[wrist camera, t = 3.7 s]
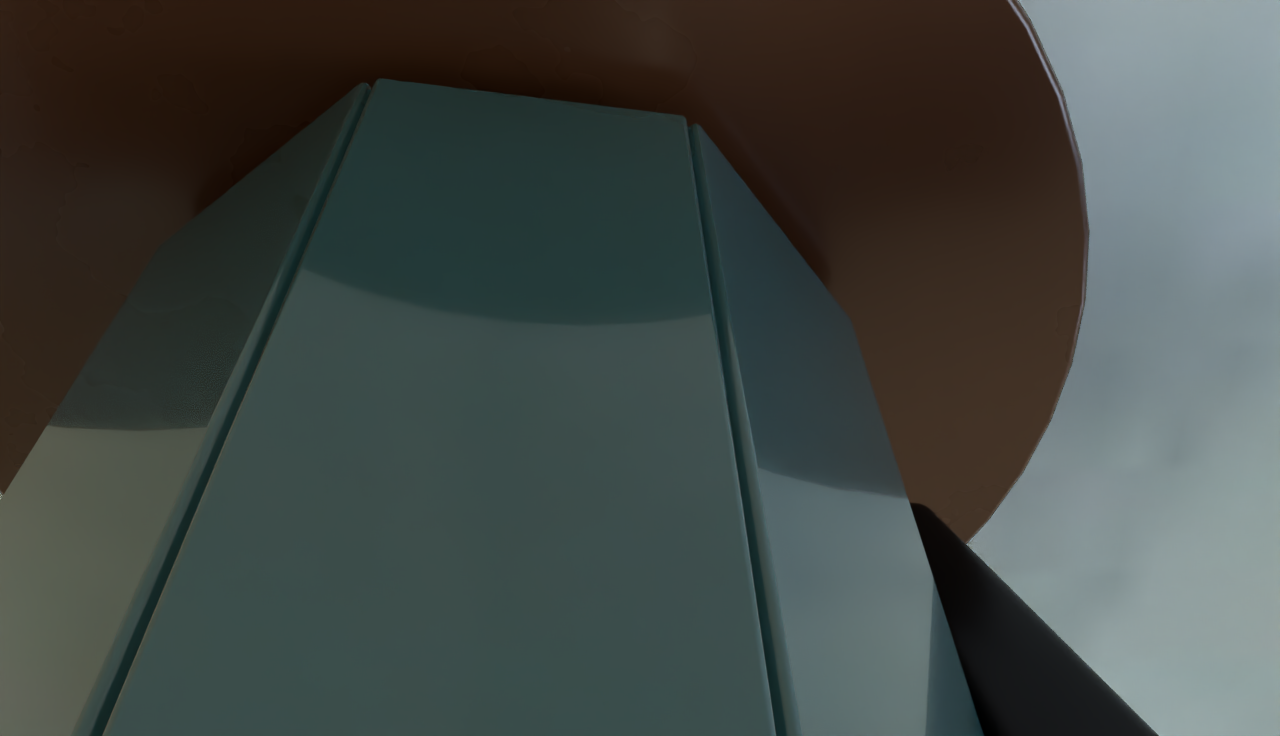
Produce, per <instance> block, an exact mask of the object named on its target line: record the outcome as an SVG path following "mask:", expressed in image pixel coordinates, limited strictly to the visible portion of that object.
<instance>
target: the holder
mask: <svg viewBox="0 0 1280 736" xmlns="http://www.w3.org/2000/svg"><path fill="white" fill-rule="evenodd" d="M380 78H382V79H390V80H398V81H406V82H414V83H423V84H431V85H439V86H447V87H455V88H463V89H471V90H479V91H487V92H495V93H504V94H512V95H520V96H528V97H536V98H544V99H552V100H560V101H568V102H576V103H585V104H593V105H601V106H609V107H617V108H625V109H633V110H641V111H649V112H657V113H665V114H674V115H682V116H684V117H685V118H686V120H687V125H688V127H689V126H690V125H692V124H695V123H696V124H698V125H700V126H701V127H702V129H703V130H704V131H705V132H706V134H707V135H708V136H709V138H710V139H711V140H712V141H713V143H714V144H715V145H716V147H717V148H718V149H719V150H720V152H721V153H722V154H723V156H724V157H725V158H726V159H727V161H728V162H729V163H730V165H731V166H732V167H733V168H734V170H735V171H736V172H737V174H738V175H739V176H740V178H741V179H742V180H743V181H744V183H745V184H746V185H747V187H748V188H749V189H750V190H751V192H752V193H753V194H754V196H755V197H756V198H757V199H758V201H759V202H760V203H761V205H762V206H763V207H764V208H765V210H766V211H767V212H768V214H769V215H770V216H771V217H772V219H773V220H774V221H775V223H776V224H777V225H778V226H779V228H780V229H781V230H782V232H783V233H784V234H785V236H786V237H787V238H788V239H789V241H790V242H791V243H792V245H793V246H794V247H795V248H796V250H797V251H798V252H799V254H800V255H801V256H802V257H803V259H804V260H805V261H806V263H807V264H808V265H809V266H810V268H811V269H812V270H813V272H814V273H815V274H816V275H817V277H818V278H819V279H820V281H821V282H822V283H823V285H824V286H825V287H826V288H827V290H828V291H829V292H830V294H831V295H832V296H833V297H834V299H835V300H836V301H837V303H838V304H839V305H840V306H841V308H842V309H843V310H844V312H845V313H846V314H847V315H848V317H849V318H850V319H851V322H852V325H853V328H854V331H855V334H856V337H857V340H858V344H859V347H860V350H861V353H862V356H863V359H864V362H865V365H866V369H867V372H868V375H869V378H870V381H871V384H872V387H873V391H874V394H875V397H876V400H877V403H878V406H879V409H880V412H881V416H882V419H883V422H884V425H885V428H886V431H887V434H888V437H889V441H890V444H891V447H892V450H893V453H894V456H895V459H896V463H897V466H898V469H899V472H900V475H901V478H902V481H903V484H904V488H905V491H906V494H907V497H908V500H909V503H920V504H923V505H925V506H927V507H929V508H930V509H931V510H932V511H933V512H934V513H935V514H936V515H937V516H938V517H939V518H940V519H941V520H942V521H943V522H944V523H945V524H946V525H947V526H948V527H949V528H950V529H951V530H952V531H953V532H954V533H955V534H956V535H957V536H958V537H959V538H960V539H961V540H962V541H963V542H964V543H965V544H967V543H968V542H969V541H970V540H971V539H972V538H973V537H974V536H975V534H976V533H977V532H978V531H979V530H980V529H981V528H982V527H983V526H984V525H985V524H986V523H987V522H988V520H989V519H990V518H991V516H992V515H993V513H994V512H995V511H996V509H997V508H998V507H999V505H1000V504H1001V502H1002V501H1003V500H1004V498H1005V497H1006V495H1007V494H1008V493H1009V491H1010V490H1011V489H1012V487H1013V486H1014V484H1015V483H1016V482H1017V480H1018V479H1019V477H1020V476H1021V475H1022V473H1023V472H1024V470H1025V468H1026V466H1027V464H1028V462H1029V460H1030V459H1031V457H1032V455H1033V453H1034V451H1035V449H1036V447H1037V446H1038V444H1039V442H1040V440H1041V438H1042V436H1043V434H1044V433H1045V431H1046V429H1047V427H1048V425H1049V423H1050V421H1051V419H1052V416H1053V414H1054V411H1055V408H1056V406H1057V403H1058V400H1059V398H1060V395H1061V392H1062V389H1063V387H1064V384H1065V381H1066V379H1067V376H1068V373H1069V371H1070V368H1071V365H1072V362H1073V357H1074V353H1075V348H1076V343H1077V338H1078V334H1079V329H1080V324H1081V319H1082V315H1083V310H1084V305H1085V300H1086V286H1087V267H1088V249H1089V222H1088V213H1087V203H1086V193H1085V184H1084V174H1083V164H1082V159H1081V156H1080V152H1079V148H1078V145H1077V141H1076V137H1075V134H1074V130H1073V126H1072V122H1071V119H1070V115H1069V111H1068V108H1067V104H1066V100H1065V97H1064V93H1063V90H1062V88H1061V86H1060V83H1059V81H1058V79H1057V77H1056V75H1055V72H1054V70H1053V68H1052V66H1051V64H1050V61H1049V59H1048V57H1047V55H1046V53H1045V50H1044V48H1043V46H1042V44H1041V41H1040V39H1039V37H1038V35H1037V33H1036V30H1035V28H1034V26H1033V24H1032V22H1031V20H1030V18H1029V17H1028V15H1027V14H1026V12H1025V11H1024V9H1023V8H1022V6H1021V5H1020V3H1019V2H1018V0H0V492H1V493H2V495H4V493H5V492H6V490H7V489H8V487H9V485H10V484H11V482H12V481H13V479H14V477H15V476H16V474H17V473H18V471H19V469H20V468H21V466H22V465H23V463H24V461H25V460H26V458H27V457H28V455H29V453H30V452H31V450H32V449H33V447H34V445H35V444H36V442H37V441H38V439H39V437H40V436H41V434H42V433H43V431H44V429H45V428H46V426H47V425H48V423H49V421H50V420H51V418H52V417H53V415H54V413H55V412H56V410H57V409H58V407H59V405H60V404H61V402H62V401H63V399H64V397H65V396H66V394H67V393H68V391H69V389H70V388H71V386H72V385H73V383H74V381H75V380H76V378H77V377H78V375H79V373H80V372H81V370H82V369H83V367H84V365H85V364H86V362H87V361H88V359H89V357H90V356H91V354H92V353H93V351H94V349H95V348H96V346H97V345H98V343H99V341H100V340H101V338H102V337H103V335H104V333H105V332H106V330H107V329H108V327H109V325H110V324H111V322H112V321H113V319H114V317H115V316H116V314H117V313H118V311H119V309H120V308H121V306H122V305H123V303H124V301H125V300H126V298H127V297H128V295H129V293H130V292H131V290H132V289H133V287H134V285H135V284H136V282H137V281H138V279H139V277H140V276H141V274H142V273H143V271H144V269H145V268H146V266H147V265H148V263H149V261H150V260H151V258H152V257H153V255H154V253H155V252H156V250H157V249H158V247H159V246H160V245H161V244H163V243H164V242H165V241H166V240H167V239H169V238H170V237H171V236H172V235H174V234H175V233H176V232H177V231H179V230H180V229H181V228H182V227H184V226H185V225H186V224H187V223H188V222H190V221H191V220H192V219H193V218H195V217H196V216H197V215H198V214H200V213H201V212H202V211H203V210H204V209H206V208H207V207H208V206H209V205H211V204H212V203H213V202H214V201H216V200H217V199H218V198H219V197H220V196H222V195H223V194H224V193H225V192H227V191H228V190H229V189H230V188H232V187H233V186H234V185H235V184H237V183H238V182H239V181H240V180H241V179H243V178H244V177H245V176H246V175H248V174H249V173H250V172H251V171H253V170H254V169H255V168H256V167H257V166H259V165H260V164H261V163H262V162H264V161H265V160H266V159H267V158H269V157H270V156H271V155H272V154H273V153H275V152H276V151H277V150H278V149H280V148H281V147H282V146H283V145H285V144H286V143H287V142H288V141H290V140H291V139H292V138H293V137H294V136H296V135H297V134H298V133H299V132H301V131H302V130H303V129H304V128H306V127H307V126H308V125H309V124H310V123H312V122H313V121H314V120H315V119H317V118H318V117H319V116H320V115H322V114H323V113H324V112H325V111H326V110H328V109H329V108H330V107H331V106H333V105H334V104H335V103H336V102H338V101H339V100H340V99H341V98H343V97H344V96H345V95H346V94H347V93H349V92H350V91H351V90H352V89H354V88H355V87H356V86H357V85H359V84H361V83H364V82H365V83H366V84H368V85H369V86H370V87H371V88H372V87H373V84H374V82H375V80H376V79H380Z"/></svg>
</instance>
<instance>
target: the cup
mask: <svg viewBox="0 0 1280 736" xmlns="http://www.w3.org/2000/svg"><path fill="white" fill-rule="evenodd" d="M0 736H984V735H983V732H982V729H981V726H980V723H979V719H978V716H977V713H976V710H975V707H974V704H973V701H972V697H971V694H970V691H969V688H968V685H967V682H966V679H965V676H964V672H963V669H962V666H961V663H960V660H959V657H958V654H957V650H956V647H955V644H954V641H953V638H952V635H951V632H950V629H949V625H948V622H947V619H946V616H945V613H944V610H943V607H942V604H941V600H940V597H939V594H938V591H937V588H936V585H935V582H934V578H933V575H932V572H931V569H930V566H929V563H928V560H927V557H926V553H925V550H924V547H923V544H922V541H921V538H920V535H919V531H918V528H917V525H916V522H915V519H914V516H913V513H912V510H911V506H910V503H909V500H908V497H907V494H906V491H905V488H904V484H903V481H902V478H901V475H900V472H899V469H898V466H897V463H896V459H895V456H894V453H893V450H892V447H891V444H890V441H889V437H888V434H887V431H886V428H885V425H884V422H883V419H882V416H881V412H880V409H879V406H878V403H877V400H876V397H875V394H874V391H873V387H872V384H871V381H870V378H869V375H868V372H867V369H866V365H865V362H864V359H863V356H862V353H861V350H860V347H859V344H858V340H857V337H856V334H855V331H854V328H853V325H852V322H851V319H850V318H849V317H848V315H847V314H846V313H845V312H844V310H843V309H842V308H841V306H840V305H839V304H838V303H837V301H836V300H835V299H834V297H833V296H832V295H831V294H830V292H829V291H828V290H827V288H826V287H825V286H824V285H823V283H822V282H821V281H820V279H819V278H818V277H817V275H816V274H815V273H814V272H813V270H812V269H811V268H810V266H809V265H808V264H807V263H806V261H805V260H804V259H803V257H802V256H801V255H800V254H799V252H798V251H797V250H796V248H795V247H794V246H793V245H792V243H791V242H790V241H789V239H788V238H787V237H786V236H785V234H784V233H783V232H782V230H781V229H780V228H779V226H778V225H777V224H776V223H775V221H774V220H773V219H772V217H771V216H770V215H769V214H768V212H767V211H766V210H765V208H764V207H763V206H762V205H761V203H760V202H759V201H758V199H757V198H756V197H755V196H754V194H753V193H752V192H751V190H750V189H749V188H748V187H747V185H746V184H745V183H744V181H743V180H742V179H741V178H740V176H739V175H738V174H737V172H736V171H735V170H734V168H733V167H732V166H731V165H730V163H729V162H728V161H727V159H726V158H725V157H724V156H723V154H722V153H721V152H720V150H719V149H718V148H717V147H716V145H715V144H714V143H713V141H712V140H711V139H710V138H709V136H708V135H707V134H706V132H705V131H704V130H703V129H702V127H701V126H700V125H698V124H696V123H695V124H692V125H690V126H689V127H688V125H687V120H686V118H685V117H684V116H682V115H674V114H665V113H657V112H649V111H641V110H633V109H625V108H617V107H609V106H601V105H593V104H585V103H576V102H568V101H560V100H552V99H544V98H536V97H528V96H520V95H512V94H504V93H495V92H487V91H479V90H471V89H463V88H455V87H447V86H439V85H431V84H423V83H414V82H406V81H398V80H390V79H382V78H380V79H376V80H375V82H374V84H373V87H372V88H371V87H370V86H369V85H368V84H366V83H365V82H364V83H361V84H359V85H357V86H356V87H355V88H354V89H352V90H351V91H350V92H349V93H347V94H346V95H345V96H344V97H343V98H341V99H340V100H339V101H338V102H336V103H335V104H334V105H333V106H331V107H330V108H329V109H328V110H326V111H325V112H324V113H323V114H322V115H320V116H319V117H318V118H317V119H315V120H314V121H313V122H312V123H310V124H309V125H308V126H307V127H306V128H304V129H303V130H302V131H301V132H299V133H298V134H297V135H296V136H294V137H293V138H292V139H291V140H290V141H288V142H287V143H286V144H285V145H283V146H282V147H281V148H280V149H278V150H277V151H276V152H275V153H273V154H272V155H271V156H270V157H269V158H267V159H266V160H265V161H264V162H262V163H261V164H260V165H259V166H257V167H256V168H255V169H254V170H253V171H251V172H250V173H249V174H248V175H246V176H245V177H244V178H243V179H241V180H240V181H239V182H238V183H237V184H235V185H234V186H233V187H232V188H230V189H229V190H228V191H227V192H225V193H224V194H223V195H222V196H220V197H219V198H218V199H217V200H216V201H214V202H213V203H212V204H211V205H209V206H208V207H207V208H206V209H204V210H203V211H202V212H201V213H200V214H198V215H197V216H196V217H195V218H193V219H192V220H191V221H190V222H188V223H187V224H186V225H185V226H184V227H182V228H181V229H180V230H179V231H177V232H176V233H175V234H174V235H172V236H171V237H170V238H169V239H167V240H166V241H165V242H164V243H163V244H161V245H160V246H159V247H158V249H157V250H156V252H155V253H154V255H153V257H152V258H151V260H150V261H149V263H148V265H147V266H146V268H145V269H144V271H143V273H142V274H141V276H140V277H139V279H138V281H137V282H136V284H135V285H134V287H133V289H132V290H131V292H130V293H129V295H128V297H127V298H126V300H125V301H124V303H123V305H122V306H121V308H120V309H119V311H118V313H117V314H116V316H115V317H114V319H113V321H112V322H111V324H110V325H109V327H108V329H107V330H106V332H105V333H104V335H103V337H102V338H101V340H100V341H99V343H98V345H97V346H96V348H95V349H94V351H93V353H92V354H91V356H90V357H89V359H88V361H87V362H86V364H85V365H84V367H83V369H82V370H81V372H80V373H79V375H78V377H77V378H76V380H75V381H74V383H73V385H72V386H71V388H70V389H69V391H68V393H67V394H66V396H65V397H64V399H63V401H62V402H61V404H60V405H59V407H58V409H57V410H56V412H55V413H54V415H53V417H52V418H51V420H50V421H49V423H48V425H47V426H46V428H45V429H44V431H43V433H42V434H41V436H40V437H39V439H38V441H37V442H36V444H35V445H34V447H33V449H32V450H31V452H30V453H29V455H28V457H27V458H26V460H25V461H24V463H23V465H22V466H21V468H20V469H19V471H18V473H17V474H16V476H15V477H14V479H13V481H12V482H11V484H10V485H9V487H8V489H7V490H6V492H5V493H4V495H3V497H2V498H1V500H0Z"/></svg>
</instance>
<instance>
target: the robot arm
mask: <svg viewBox="0 0 1280 736" xmlns="http://www.w3.org/2000/svg"><path fill="white" fill-rule="evenodd" d="M910 506H911V510H912V513H913V516H914V519H915V522H916V525H917V528H918V531H919V535H920V538H921V541H922V544H923V547H924V550H925V553H926V557H927V560H928V563H929V566H930V569H931V572H932V575H933V578H934V582H935V585H936V588H937V591H938V594H939V597H940V600H941V604H942V607H943V610H944V613H945V616H946V619H947V622H948V625H949V629H950V632H951V635H952V638H953V641H954V644H955V647H956V650H957V654H958V657H959V660H960V663H961V666H962V669H963V672H964V676H965V679H966V682H967V685H968V688H969V691H970V694H971V697H972V701H973V704H974V707H975V710H976V713H977V716H978V719H979V723H980V726H981V729H982V732H983V735H984V736H1159V735H1158V734H1157V733H1156V732H1155V731H1154V730H1153V729H1152V728H1151V727H1150V726H1149V725H1148V724H1147V723H1146V722H1145V721H1144V720H1142V719H1141V718H1140V717H1139V716H1138V715H1137V714H1136V713H1135V712H1134V711H1133V710H1132V709H1131V708H1130V707H1129V706H1128V705H1127V704H1126V703H1125V702H1124V701H1123V700H1122V699H1121V698H1120V697H1119V696H1118V695H1117V694H1116V693H1115V692H1114V691H1113V690H1112V689H1111V688H1110V687H1109V686H1108V685H1107V684H1106V683H1105V682H1104V681H1103V680H1102V679H1101V678H1100V677H1099V676H1098V675H1097V674H1096V673H1095V672H1094V671H1093V670H1092V669H1091V668H1090V667H1089V666H1088V665H1087V664H1086V663H1085V662H1084V661H1083V660H1082V659H1081V658H1080V657H1079V656H1078V655H1077V654H1076V653H1075V652H1074V651H1073V650H1072V649H1071V648H1070V647H1069V646H1068V645H1067V644H1066V643H1065V642H1064V641H1063V640H1062V639H1061V638H1060V637H1059V636H1058V635H1057V634H1056V633H1055V632H1054V631H1053V630H1052V629H1051V628H1050V627H1049V626H1048V625H1047V624H1046V623H1045V622H1044V621H1043V620H1042V619H1041V618H1040V617H1039V616H1038V615H1037V614H1036V613H1035V612H1034V611H1033V610H1032V609H1031V608H1030V607H1029V606H1028V605H1027V604H1026V603H1025V602H1024V601H1023V600H1022V599H1021V598H1020V597H1019V596H1018V595H1017V594H1016V593H1015V592H1014V591H1013V590H1012V589H1011V588H1010V587H1009V586H1008V585H1007V584H1006V583H1005V582H1004V581H1003V580H1002V579H1001V578H1000V577H999V576H998V575H997V574H996V573H995V572H994V571H993V570H992V569H991V568H989V567H988V566H987V565H986V564H985V563H984V562H983V561H982V560H981V559H980V558H979V557H978V556H977V555H976V554H975V553H974V552H973V551H972V550H971V549H970V548H969V547H968V546H967V545H966V544H965V543H964V542H963V541H962V540H961V539H960V538H959V537H958V536H957V535H956V534H955V533H954V532H953V531H952V530H951V529H950V528H949V527H948V526H947V525H946V524H945V523H944V522H943V521H942V520H941V519H940V518H939V517H938V516H937V515H936V514H935V513H934V512H933V511H932V510H931V509H930V508H929V507H927V506H925V505H923V504H920V503H910Z"/></svg>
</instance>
